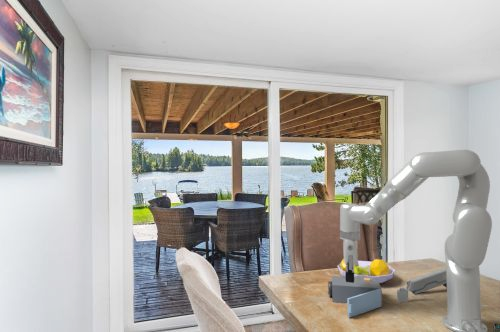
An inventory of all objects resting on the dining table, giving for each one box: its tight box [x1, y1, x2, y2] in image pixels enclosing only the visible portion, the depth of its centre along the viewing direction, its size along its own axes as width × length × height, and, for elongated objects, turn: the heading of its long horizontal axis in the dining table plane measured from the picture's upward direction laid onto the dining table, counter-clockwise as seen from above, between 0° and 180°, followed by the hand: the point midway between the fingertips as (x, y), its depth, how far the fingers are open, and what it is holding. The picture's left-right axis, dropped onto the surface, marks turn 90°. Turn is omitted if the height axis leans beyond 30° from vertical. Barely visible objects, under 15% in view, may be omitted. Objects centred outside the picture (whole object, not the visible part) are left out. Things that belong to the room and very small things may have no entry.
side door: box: [346, 288, 383, 318], centre depth 119 cm, size 2×19×7 cm, turn 121°
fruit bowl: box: [337, 258, 396, 284], centre depth 156 cm, size 28×27×11 cm
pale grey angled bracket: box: [396, 279, 414, 303], centre depth 130 cm, size 7×2×8 cm, turn 100°
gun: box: [406, 267, 447, 295], centre depth 139 cm, size 2×25×10 cm, turn 99°
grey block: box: [327, 275, 382, 304], centre depth 133 cm, size 12×21×8 cm, turn 75°
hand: (349, 281), depth 124 cm, fingers closed
